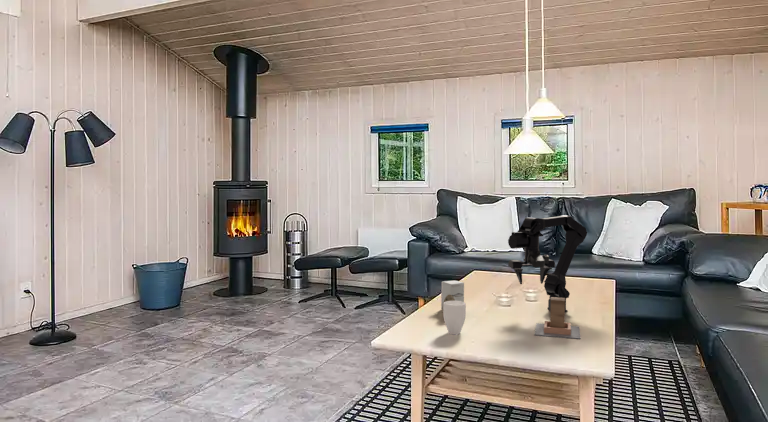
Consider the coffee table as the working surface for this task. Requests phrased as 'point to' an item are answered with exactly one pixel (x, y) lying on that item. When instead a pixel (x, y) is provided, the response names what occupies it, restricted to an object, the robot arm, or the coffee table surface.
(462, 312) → the mug
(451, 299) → the decorative egg
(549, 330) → the holder
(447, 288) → the supplement box
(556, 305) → the block
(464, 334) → the coffee table surface
